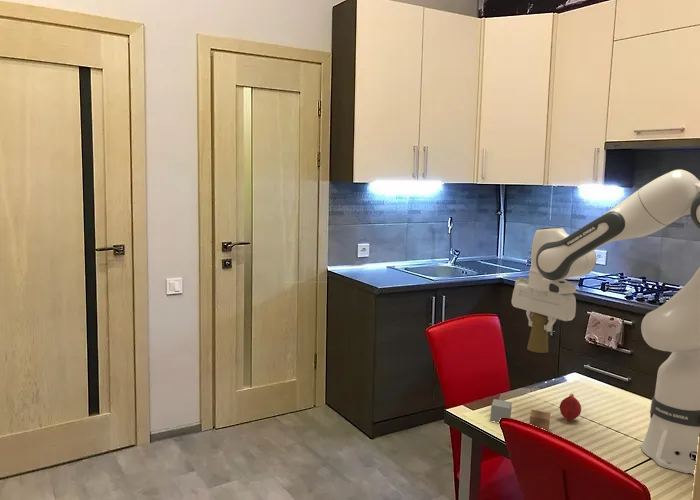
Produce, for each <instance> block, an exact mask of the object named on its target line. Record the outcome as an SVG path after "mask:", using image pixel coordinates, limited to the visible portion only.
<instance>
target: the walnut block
mask: <svg viewBox="0 0 700 500" xmlns="http://www.w3.org/2000/svg"><path fill="white" fill-rule="evenodd" d="M550 422H551V412H545V411H540V410H535V409H531V412H530V415H529V424H532V425H534V426H537V427H539V428H543V429H545V430H547V431H549V430H550V424H551V423H550Z"/></svg>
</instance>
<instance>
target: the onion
mask: <svg viewBox="0 0 700 500" xmlns="http://www.w3.org/2000/svg"><path fill="white" fill-rule="evenodd" d="M559 411H560V415H562V417H563V418H564V419H566V421H568V422H571V421H573V420H575V419H577V418H578V417H579V416H580V415H581V413H582V406H581V403H580V401H579V400H578V399H577V398H576V397H575V396H574V394H573V393H570V394H569V396H568V397H567V396H566V397H565V398H563V399H562V400H561V402H560V404H559Z"/></svg>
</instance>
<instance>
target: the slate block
mask: <svg viewBox="0 0 700 500" xmlns="http://www.w3.org/2000/svg"><path fill="white" fill-rule="evenodd" d="M512 404H513V403H512V401H507V400H503V399H496V398H493V400H492V403H491V407H490V416H489V417H490V418H489V419H490V420H489V422H490V421H495V422H499V420H500V418H510V419H511V414H512V413H511V412H512Z"/></svg>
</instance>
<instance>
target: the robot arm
mask: <svg viewBox="0 0 700 500" xmlns="http://www.w3.org/2000/svg"><path fill="white" fill-rule="evenodd" d="M688 215H690V218H691V220H692V221H693V223H694V225H695V226H696V227H697V228H698V229H699V230H700V180H699V179H698V178H697V177H696V175H694V174H693V173H691V172H689V171H687V170H684V169H674V170H671V171H669V172H666V173H664V174H663V175H661V176H658V177H656V178H655V179H653V180H651V181H650V182H648V183H646V184H645V185H643V186H642V187H640V188H639V189H638V190H636V191H635V192H633V193H632V194H631V195H629V196H628V197H627V198H625V199H623V200H622V201H620V202H619V203H618V204H617V205H615V206H614V207H612V208H611V209H609V210H608V211H606V212H605V213H604V214H603V215H601V216H598V217H597V218H596V219H594V220H592V221H590V222H589V223H588V224H586V225H584V226H582V227H581V228H579V229H578V230H576V231H574V232H573V233H571V234H569V233H567V231H566V230H565V229H564V228H563V227H560V226H554V227H553V226H552V227H550V226H547V227H540V228H537V230H536V231H535V233H534V235H533V239H532V243H531V251H530V260H531V266H530V268H529V272H528V278H527V277H526V278H525V277H523V276H522V277H521V276H519V277H518V278H516V280H515V281H514V288H513V290H512V296H511V306H513V307H514V308H516V309H520V310H523V311H526V312H525V313H526V317H527V320H528V327H531V328H532V325H533V323H532V320H531V317H532V315H533V314H534V313H538V314H541V315H545V316H548V320H549V322H548V324H547V325H544V331H547V332H548V333H549V332H552V329H553V325H554V324H555V323H556V321H557V320H559V321H563V322H568V321H569V322H570V321H573V319H574V318H575V317H576V310H577V301H576V299H577V297H576V296H575V294H574V293H576V291H577V286H575V284H573V283H571V282H569V281H568V280H566V278H575V277H582V276H586V275H589V274H590V273H591V272H593V270H594V269H595V267H596V265H597V254H596V251H595V250H596V249H598V248H600V247H602V246H604V245H607V244H609V243H613V242H616V241H622V240H623V241H624V240H629V239H630V240H631V239H637V238H643V237H646V236H649V235H651V234H654V233H657V232H659V231H660V230H663V229H664V228H666V227H667V226H669V225H671V224H672V223H674V222H675V221H677V220H678V219H680V218H683V217H684V216H688ZM640 329H641V330H640V331H641V336H642V338H643V340H644V341H645V343H646V344H647V345H648V346H649V347H650V348H653V349H654V350H659V351H663V352H668V353H669V352H670V355H669V356H668V358H667V359H666V360H665V361H664V362H662V363H661V365H660V366H659V367H658V370H657V375H656V376H657V377H656V383H655V391H654V396H653V397H652V399H651V404H650V410H649V413H650V414H649V415H650V416H649V417H650V420H649V425H648V428H647V430H646V431H647V432H646V434H645V437H644V438H643V440H642V442H641V445H640V449H641V451H642V452H643V453H644V454H645V455H646V456H648V457H649V458H651V459H652V460H653V461H654V462H655V463H656V464H657V465H658V466H659V467H662V468H666V469H669V470H673V471H677V472H681V473H684V474H688V473H692V474H693V473H694V470H695V463H696V455H697V445H698V437H699V433H700V266H699V267H698V269H697V270H696V271H695V273H694V274H693V276H692V277H691V278H690V279H689V281H688V282H687V283H686V284H685V285H684V286H682V288H680V289H679V290H678V291H677V292H676V293H674V295H673V296H672V297H670V298H669V299H668V300H667V301H665V302H664V303H663V304H661V305H660V306H659V307H657V308H655V309H653V310H652V311H649V312H647V313H646V314H645V316H644V317H643V319H642V321H641V325H640ZM692 474H691V475H692ZM692 476H695V475H694V474H693V475H692Z"/></svg>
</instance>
